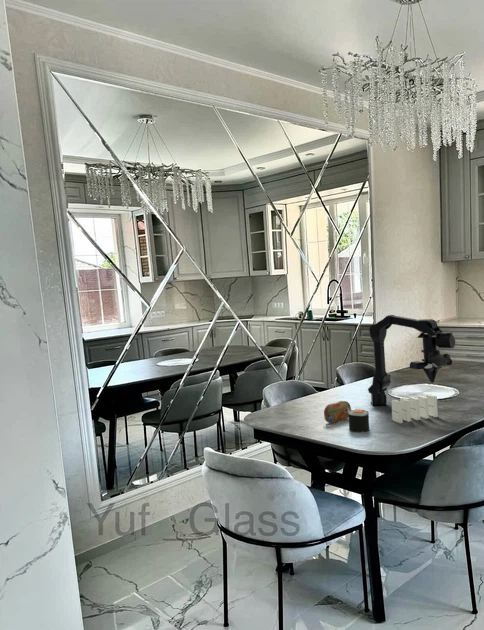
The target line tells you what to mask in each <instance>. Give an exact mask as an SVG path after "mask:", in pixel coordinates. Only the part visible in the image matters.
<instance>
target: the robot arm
mask: <svg viewBox="0 0 484 630" xmlns="http://www.w3.org/2000/svg"><path fill="white" fill-rule="evenodd" d="M392 325H396V326H401V327H405V328H406V327H407V328H410V329H411V328H412V329H415V330H416V331H418V332H420V334H419V335H418V336H417V338H418V339H422V349H421V353H423V358H421V361H419V360H414V361H410V362H409V369H414V370H423V372H424V373H425V375H426V377H427V378H428V381H429V382H430V383H431V384H432V383H433V384H434V383H435V379H436V376H437V373H438V371H439V370H441V369H442V368H443V366H444V367H445V366H451V365H452V366H453V359H451V356H450V354H449V353H444V354H441V353H440V350H439V349H454V348H455V345H456V338H455V336H454V335H453V332H451V331H450V332H443V331H442V330H441V328H440V326H439V325H438V324H437V321H436V320H435V319H433V318H425V319H416V318H410V317H405V316H399V315H398V316H397V315H395V314H390V315H389V314H388V315H386V316H384V318H382V319H381V320H379V321H378V322H376V323H373V324H372V325H370V327H369V330H368V332H369V335H370V338H371V341H372V342H373V353H374V354H373V355H374V356H373V357H374V371H375V372H374V374H373V377H372V384H371V386H369V387H368V389H367V391H368V394H370V400H371V401H370V404H371V405H372V406H373V407H379V406H380V407H382V406H384V407H385V406H387V404H388V402H387V401H388V399H387V394H386V392H387V390H388V388H389V387H390V386H391V383H392V380H391V374H389V373H387V371H386V369H387V368H386V357H385V354H386V353H385V352H386V351H385V340H386V337H387V332H388V331H387V330H388V329H390V328H391V327H392ZM438 348H439V349H438Z"/></svg>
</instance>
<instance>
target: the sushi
mask: <svg viewBox="0 0 484 630" xmlns="http://www.w3.org/2000/svg"><path fill="white" fill-rule="evenodd" d="M348 415H349V418H348V429H349V431H350V432H355V433H367V432H369V431H370V421H369V420H370V419H369V417H370V416H369V415H370V413H369V411H368V410H366V409H360V408H359V409H357V408H356V409H351V411H348Z"/></svg>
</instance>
